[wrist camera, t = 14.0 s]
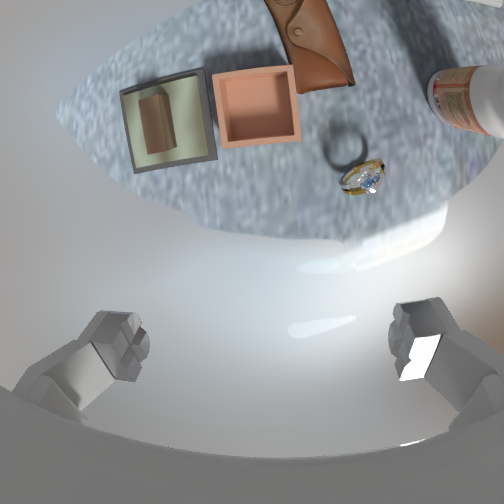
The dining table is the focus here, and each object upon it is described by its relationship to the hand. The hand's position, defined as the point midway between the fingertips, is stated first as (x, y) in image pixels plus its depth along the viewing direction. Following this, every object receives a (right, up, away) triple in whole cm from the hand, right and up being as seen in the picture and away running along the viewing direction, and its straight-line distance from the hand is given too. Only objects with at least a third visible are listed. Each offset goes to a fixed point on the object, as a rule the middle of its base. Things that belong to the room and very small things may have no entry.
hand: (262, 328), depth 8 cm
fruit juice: (+30, +26, +23) cm, 46 cm away
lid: (-13, +21, +29) cm, 38 cm away
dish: (+1, +22, +28) cm, 36 cm away
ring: (+15, +15, +31) cm, 37 cm away
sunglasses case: (+7, +32, +22) cm, 40 cm away
